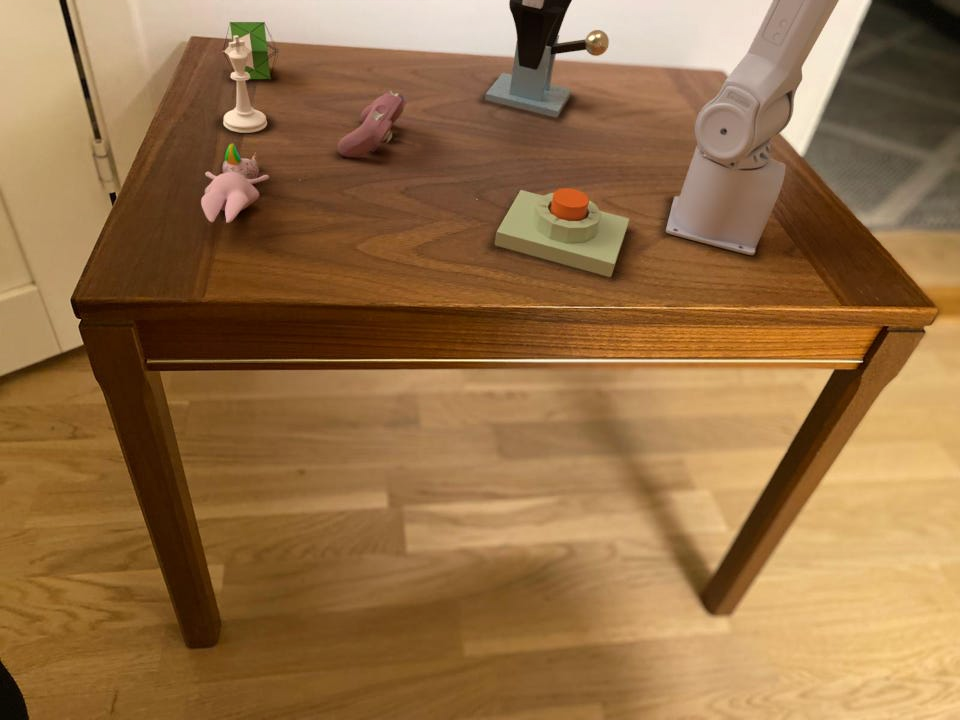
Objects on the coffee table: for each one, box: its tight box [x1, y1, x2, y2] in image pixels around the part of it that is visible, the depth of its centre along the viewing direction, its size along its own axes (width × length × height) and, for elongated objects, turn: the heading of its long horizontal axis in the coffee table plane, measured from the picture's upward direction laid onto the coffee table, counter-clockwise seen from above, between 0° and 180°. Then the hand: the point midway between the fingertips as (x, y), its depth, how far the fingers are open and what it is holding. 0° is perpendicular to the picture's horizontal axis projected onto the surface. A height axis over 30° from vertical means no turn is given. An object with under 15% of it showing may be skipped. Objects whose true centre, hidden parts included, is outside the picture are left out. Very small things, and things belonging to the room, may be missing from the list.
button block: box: [494, 189, 630, 278], centre depth 76 cm, size 12×9×4 cm
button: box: [550, 187, 590, 221], centre depth 74 cm, size 4×4×2 cm
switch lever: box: [550, 29, 610, 57], centre depth 95 cm, size 11×3×3 cm, turn 72°
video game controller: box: [337, 89, 408, 158], centre depth 85 cm, size 10×5×7 cm, turn 168°
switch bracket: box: [484, 34, 572, 118], centre depth 98 cm, size 10×8×8 cm
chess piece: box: [222, 35, 268, 134], centre depth 84 cm, size 5×5×10 cm
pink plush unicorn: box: [200, 143, 270, 224], centre depth 73 cm, size 6×6×15 cm
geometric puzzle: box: [221, 21, 280, 80], centre depth 94 cm, size 7×7×8 cm
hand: (536, 55), depth 85 cm, fingers open, 7 cm apart
